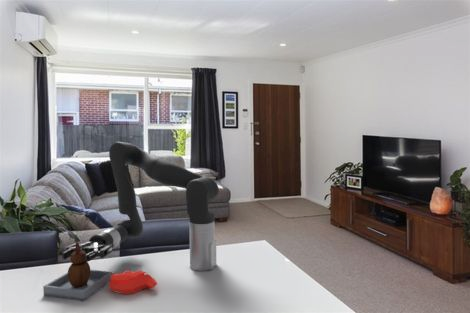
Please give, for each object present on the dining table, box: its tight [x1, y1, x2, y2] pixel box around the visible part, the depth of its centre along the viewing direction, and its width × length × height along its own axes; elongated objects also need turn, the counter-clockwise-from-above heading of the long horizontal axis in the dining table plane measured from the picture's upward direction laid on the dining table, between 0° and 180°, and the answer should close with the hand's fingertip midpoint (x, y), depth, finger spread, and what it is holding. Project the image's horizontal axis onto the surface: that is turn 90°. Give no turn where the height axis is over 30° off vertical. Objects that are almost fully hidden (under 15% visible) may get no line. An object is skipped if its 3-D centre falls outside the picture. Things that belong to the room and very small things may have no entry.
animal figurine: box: [108, 270, 158, 295], centre depth 113 cm, size 12×15×5 cm
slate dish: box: [42, 269, 113, 302], centre depth 114 cm, size 15×15×3 cm
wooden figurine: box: [67, 241, 91, 287], centre depth 113 cm, size 7×6×15 cm
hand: (74, 257), depth 111 cm, fingers open, 8 cm apart
